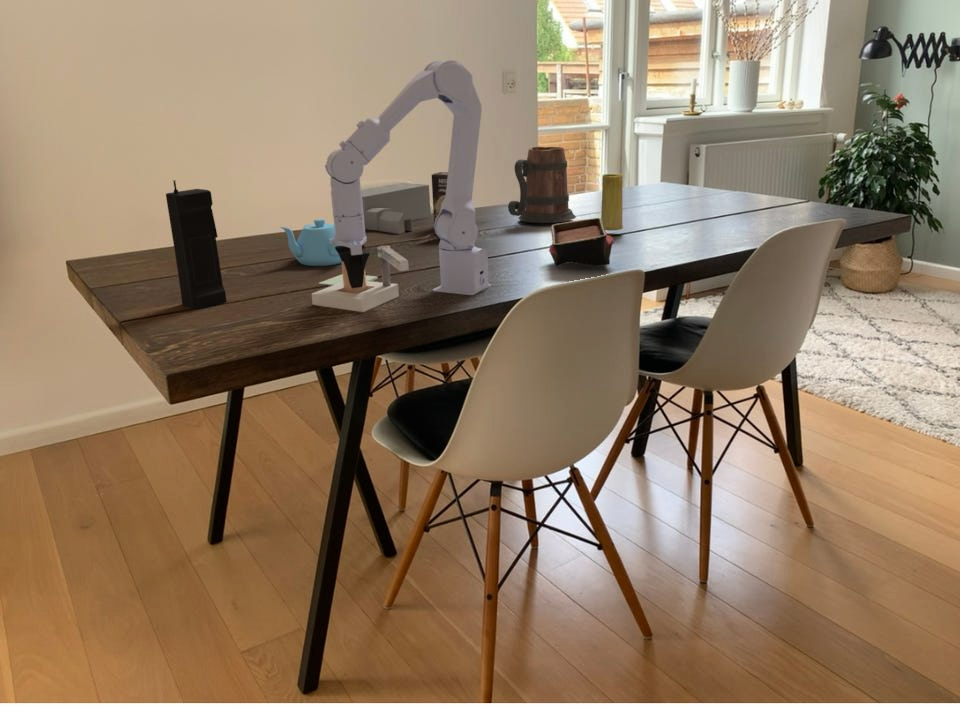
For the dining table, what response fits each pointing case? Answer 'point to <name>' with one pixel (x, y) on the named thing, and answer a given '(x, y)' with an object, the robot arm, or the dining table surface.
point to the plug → (347, 284)
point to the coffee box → (438, 191)
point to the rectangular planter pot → (581, 243)
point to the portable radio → (195, 247)
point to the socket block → (362, 301)
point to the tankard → (542, 187)
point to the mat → (340, 279)
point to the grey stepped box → (395, 206)
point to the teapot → (314, 244)
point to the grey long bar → (393, 258)
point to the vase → (612, 201)
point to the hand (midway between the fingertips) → (354, 284)
